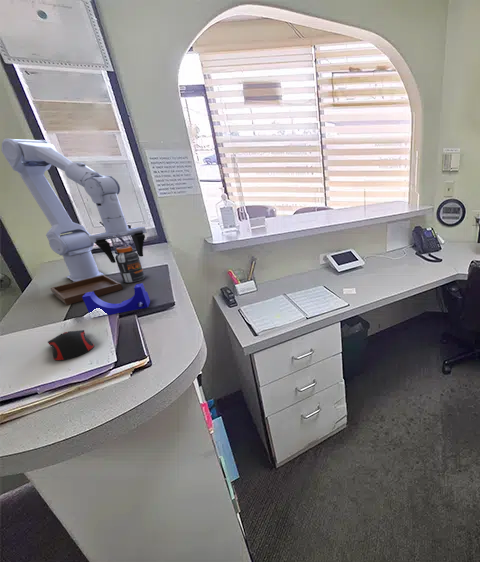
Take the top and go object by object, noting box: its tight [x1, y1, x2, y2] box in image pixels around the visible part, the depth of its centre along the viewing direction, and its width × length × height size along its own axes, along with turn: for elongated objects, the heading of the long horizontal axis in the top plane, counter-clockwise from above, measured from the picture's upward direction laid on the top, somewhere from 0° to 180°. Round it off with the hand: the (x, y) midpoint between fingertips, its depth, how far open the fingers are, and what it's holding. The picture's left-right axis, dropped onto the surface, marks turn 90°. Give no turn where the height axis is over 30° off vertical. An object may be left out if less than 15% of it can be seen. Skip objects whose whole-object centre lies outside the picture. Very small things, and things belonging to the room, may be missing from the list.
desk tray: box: [50, 274, 124, 306], centre depth 95 cm, size 15×13×2 cm
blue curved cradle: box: [82, 282, 151, 316], centre depth 81 cm, size 12×4×6 cm, turn 117°
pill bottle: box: [114, 245, 146, 284], centre depth 102 cm, size 6×6×11 cm
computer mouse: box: [47, 329, 95, 362], centre depth 65 cm, size 6×11×4 cm, turn 51°
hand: (127, 259), depth 101 cm, fingers open, 7 cm apart
